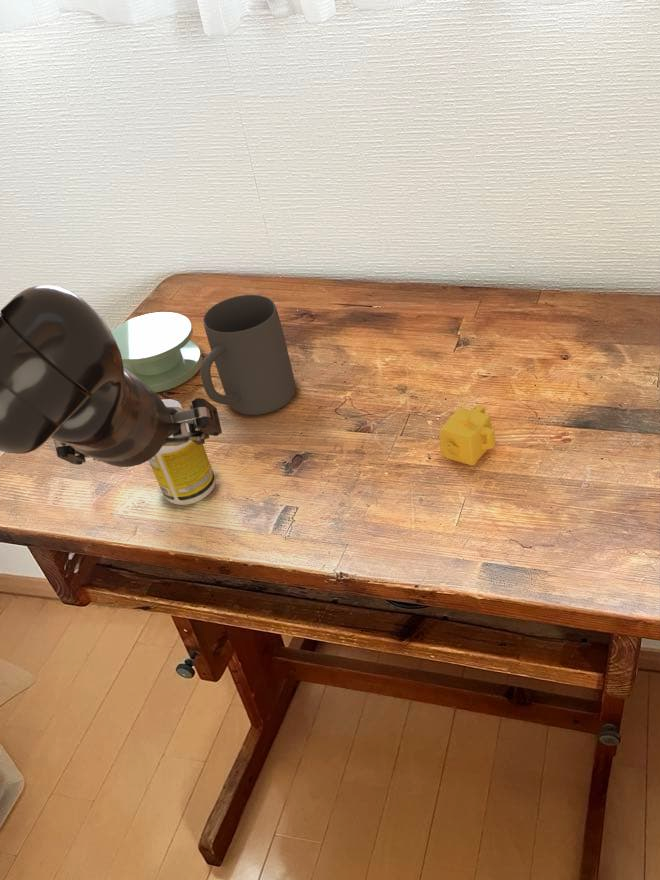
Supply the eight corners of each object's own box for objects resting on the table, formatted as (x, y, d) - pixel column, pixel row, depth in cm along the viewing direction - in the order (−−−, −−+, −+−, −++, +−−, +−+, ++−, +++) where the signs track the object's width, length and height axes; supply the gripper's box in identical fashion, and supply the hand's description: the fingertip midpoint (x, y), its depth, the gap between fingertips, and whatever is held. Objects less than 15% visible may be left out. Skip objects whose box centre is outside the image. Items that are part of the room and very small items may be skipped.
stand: (164, 400, 110) (151, 366, 106) (99, 383, 115) (84, 350, 111) (219, 353, 117) (209, 319, 114) (155, 339, 122) (143, 306, 118)
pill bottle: (224, 473, 98) (197, 395, 90) (204, 508, 94) (174, 430, 86) (177, 469, 99) (146, 393, 92) (155, 504, 95) (121, 427, 87)
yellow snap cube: (476, 483, 91) (474, 446, 88) (432, 469, 94) (427, 432, 90) (510, 442, 96) (509, 405, 92) (466, 429, 99) (463, 393, 95)
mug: (253, 370, 113) (231, 289, 105) (310, 382, 109) (291, 299, 101) (192, 428, 105) (162, 346, 97) (251, 443, 101) (225, 359, 93)
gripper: (187, 352, 68) (219, 392, 84) (13, 388, 67) (79, 421, 83) (207, 442, 68) (235, 464, 84) (32, 478, 67) (95, 494, 83)
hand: (157, 443), depth 84 cm, fingers open, 8 cm apart
